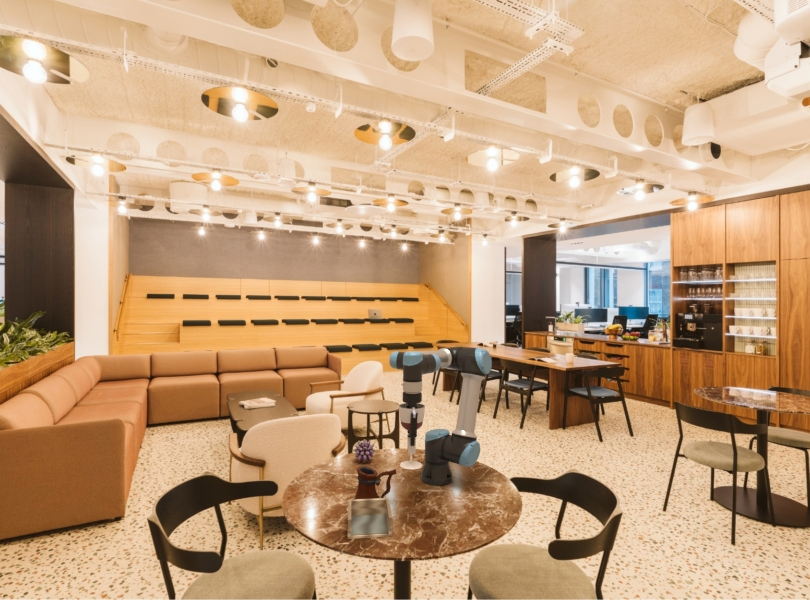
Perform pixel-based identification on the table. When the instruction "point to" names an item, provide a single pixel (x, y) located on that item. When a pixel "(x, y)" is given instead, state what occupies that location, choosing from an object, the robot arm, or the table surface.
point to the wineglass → (405, 422)
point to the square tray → (369, 518)
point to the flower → (364, 450)
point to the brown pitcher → (371, 482)
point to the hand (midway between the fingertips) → (411, 452)
